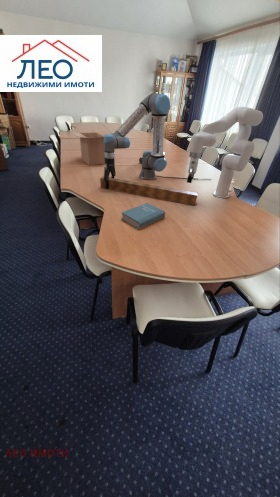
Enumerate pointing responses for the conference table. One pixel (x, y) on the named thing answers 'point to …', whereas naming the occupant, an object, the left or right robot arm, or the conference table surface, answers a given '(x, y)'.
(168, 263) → the conference table surface
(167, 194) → the bar
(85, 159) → the box
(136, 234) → the conference table surface
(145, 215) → the book
